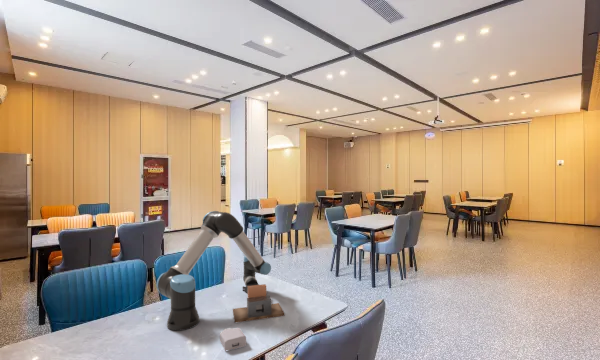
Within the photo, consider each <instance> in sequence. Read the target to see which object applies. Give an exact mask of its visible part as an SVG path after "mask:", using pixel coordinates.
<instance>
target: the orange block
mask: <svg viewBox="0 0 600 360" xmlns="http://www.w3.org/2000/svg"><path fill="white" fill-rule="evenodd" d="M261 296H267V284H263V285H262V284H259V285H253V286H248V294H247V298H252V297H261ZM258 309H262V305H256V310H258Z"/></svg>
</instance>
